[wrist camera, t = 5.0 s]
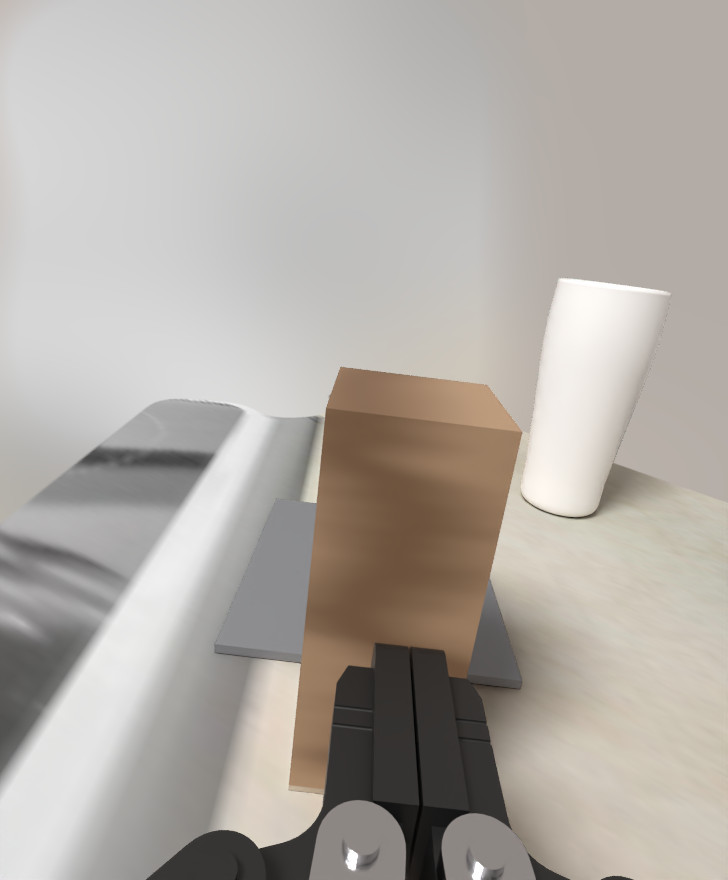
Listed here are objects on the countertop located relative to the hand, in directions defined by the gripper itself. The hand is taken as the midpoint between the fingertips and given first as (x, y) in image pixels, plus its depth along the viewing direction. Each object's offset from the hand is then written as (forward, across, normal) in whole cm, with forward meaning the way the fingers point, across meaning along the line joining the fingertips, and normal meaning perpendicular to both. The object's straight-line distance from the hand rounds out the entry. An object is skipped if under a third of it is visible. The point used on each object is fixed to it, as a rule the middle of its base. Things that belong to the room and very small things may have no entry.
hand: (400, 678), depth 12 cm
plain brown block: (+5, 0, +7) cm, 8 cm away
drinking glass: (+26, -13, +7) cm, 30 cm away
